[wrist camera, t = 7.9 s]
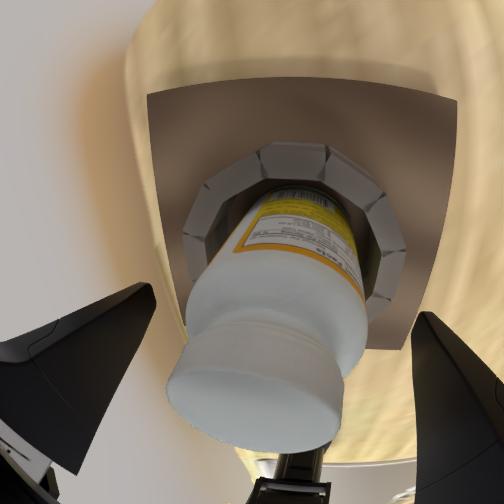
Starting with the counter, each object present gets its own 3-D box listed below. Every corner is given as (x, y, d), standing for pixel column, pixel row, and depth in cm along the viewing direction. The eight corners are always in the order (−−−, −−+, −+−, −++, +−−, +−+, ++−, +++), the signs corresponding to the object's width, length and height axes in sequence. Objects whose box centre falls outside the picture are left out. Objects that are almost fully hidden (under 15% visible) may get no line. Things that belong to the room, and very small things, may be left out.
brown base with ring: (396, 329, 17) (407, 385, 13) (194, 308, 20) (165, 355, 16) (440, 101, 10) (490, 101, 5) (166, 94, 13) (107, 95, 9)
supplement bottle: (315, 161, 11) (299, 295, 3) (370, 255, 13) (400, 443, 5) (223, 218, 14) (102, 366, 6) (281, 296, 15) (233, 462, 7)
